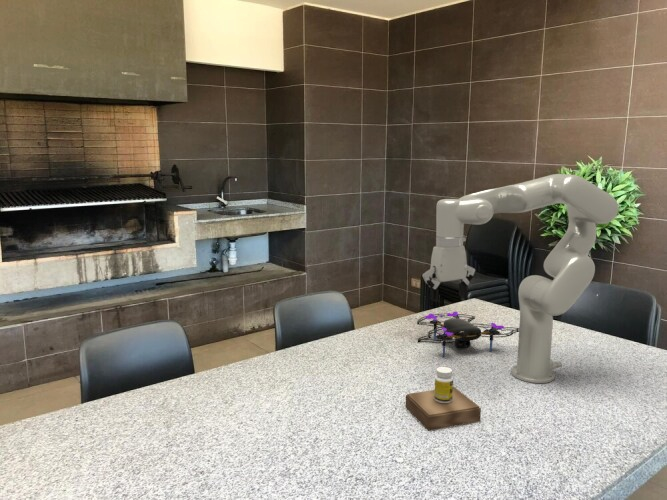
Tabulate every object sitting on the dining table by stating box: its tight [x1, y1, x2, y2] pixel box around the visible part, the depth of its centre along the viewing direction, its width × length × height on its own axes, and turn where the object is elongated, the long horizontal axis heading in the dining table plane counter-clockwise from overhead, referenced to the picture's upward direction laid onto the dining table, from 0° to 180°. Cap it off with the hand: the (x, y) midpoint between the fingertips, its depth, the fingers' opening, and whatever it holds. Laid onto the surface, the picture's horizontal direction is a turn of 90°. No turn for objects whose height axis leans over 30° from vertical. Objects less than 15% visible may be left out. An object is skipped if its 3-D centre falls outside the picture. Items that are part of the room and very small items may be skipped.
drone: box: [416, 311, 519, 358], centre depth 189 cm, size 40×10×28 cm
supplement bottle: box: [433, 366, 454, 403], centre depth 137 cm, size 5×5×8 cm
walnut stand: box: [405, 386, 482, 431], centre depth 138 cm, size 15×13×4 cm
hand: (448, 299), depth 154 cm, fingers open, 9 cm apart
